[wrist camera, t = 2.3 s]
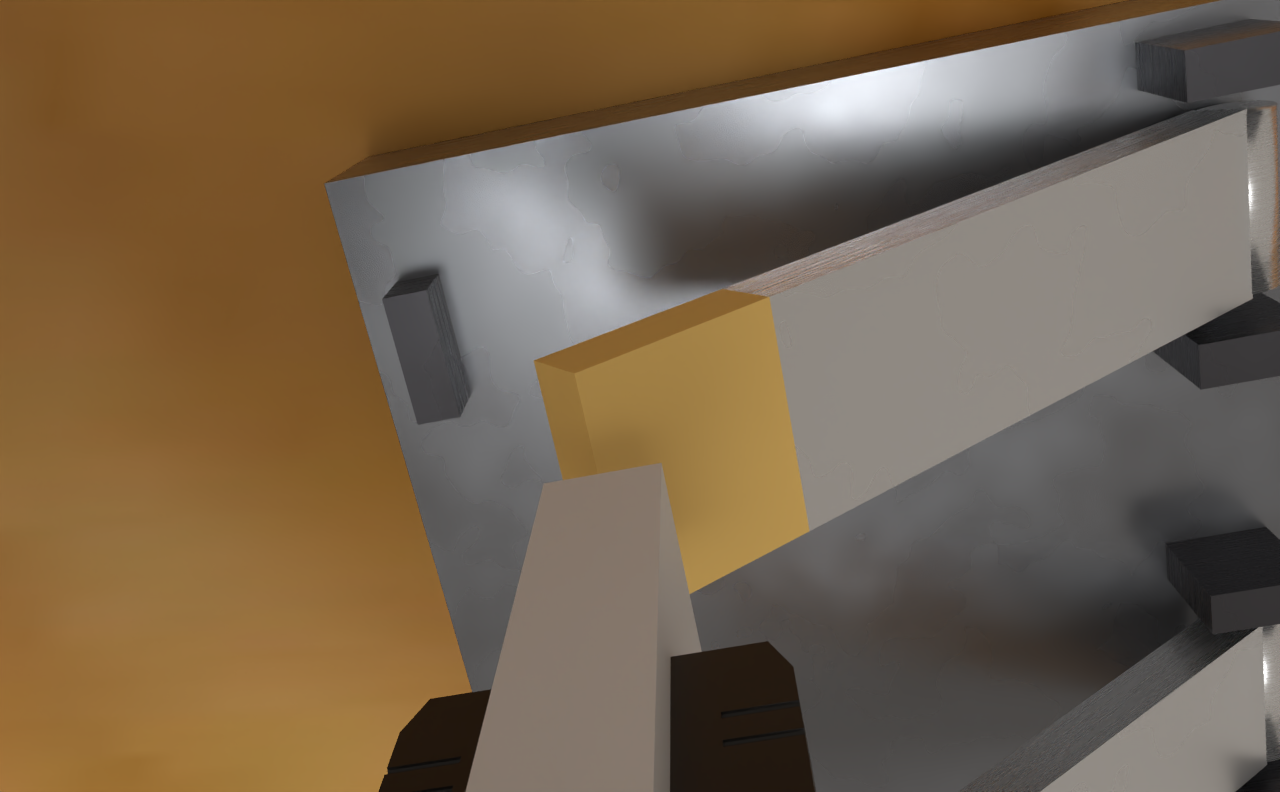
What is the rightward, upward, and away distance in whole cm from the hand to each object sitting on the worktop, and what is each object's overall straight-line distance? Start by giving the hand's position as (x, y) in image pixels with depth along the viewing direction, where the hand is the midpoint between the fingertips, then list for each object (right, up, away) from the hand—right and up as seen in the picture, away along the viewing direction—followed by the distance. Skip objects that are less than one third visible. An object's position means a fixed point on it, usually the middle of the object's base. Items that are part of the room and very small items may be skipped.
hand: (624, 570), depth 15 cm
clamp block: (+6, +1, +18) cm, 19 cm away
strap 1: (+6, +4, +7) cm, 10 cm away
